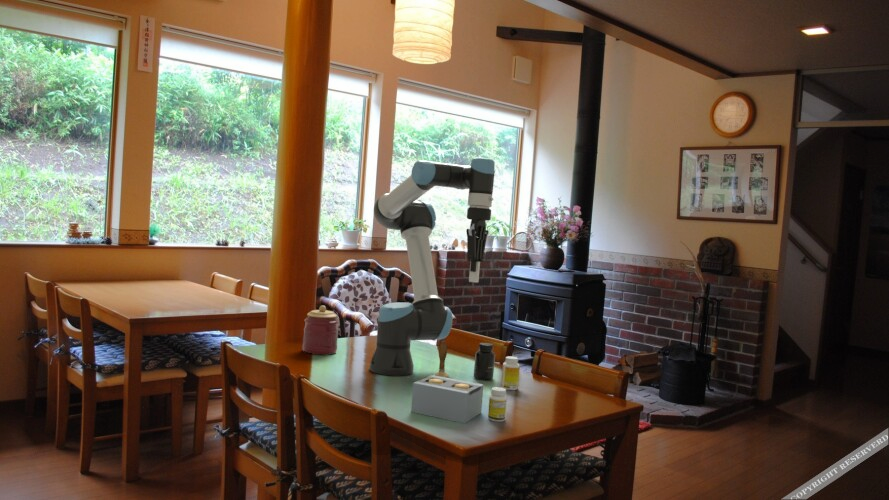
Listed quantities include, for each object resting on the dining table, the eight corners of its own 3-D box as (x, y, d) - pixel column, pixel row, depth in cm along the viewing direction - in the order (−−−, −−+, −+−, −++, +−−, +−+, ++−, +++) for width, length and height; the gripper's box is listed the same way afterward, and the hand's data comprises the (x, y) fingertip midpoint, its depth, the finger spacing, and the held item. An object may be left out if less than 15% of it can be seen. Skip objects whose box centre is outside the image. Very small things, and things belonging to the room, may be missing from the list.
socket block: (411, 411, 180) (413, 382, 179) (430, 402, 190) (432, 375, 190) (464, 423, 173) (466, 393, 172) (481, 412, 184) (483, 384, 183)
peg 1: (424, 407, 182) (426, 380, 182) (430, 404, 186) (432, 378, 186) (437, 409, 181) (439, 383, 180) (443, 406, 184) (445, 380, 184)
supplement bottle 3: (521, 390, 213) (523, 359, 212) (506, 391, 210) (509, 359, 210) (512, 385, 218) (514, 355, 217) (497, 386, 215) (500, 355, 215)
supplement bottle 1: (491, 381, 221) (494, 346, 221) (471, 379, 223) (474, 344, 222) (494, 377, 228) (497, 343, 227) (475, 375, 229) (477, 341, 229)
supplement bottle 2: (490, 415, 182) (492, 385, 181) (506, 418, 180) (509, 388, 180) (486, 420, 177) (488, 389, 177) (503, 423, 176) (505, 392, 175)
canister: (309, 346, 256) (312, 302, 255) (341, 350, 254) (344, 305, 253) (297, 353, 243) (300, 305, 242) (330, 356, 241) (334, 309, 240)
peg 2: (450, 412, 179) (452, 385, 179) (456, 409, 183) (458, 382, 182) (463, 415, 177) (465, 388, 177) (469, 412, 181) (471, 385, 181)
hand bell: (434, 395, 198) (438, 343, 197) (422, 388, 205) (426, 338, 205) (458, 394, 202) (462, 343, 201) (446, 387, 209) (449, 338, 208)
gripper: (482, 207, 199) (476, 284, 200) (497, 209, 210) (492, 282, 211) (460, 205, 202) (454, 281, 203) (476, 207, 214) (470, 279, 215)
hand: (473, 281), depth 207 cm, fingers closed
